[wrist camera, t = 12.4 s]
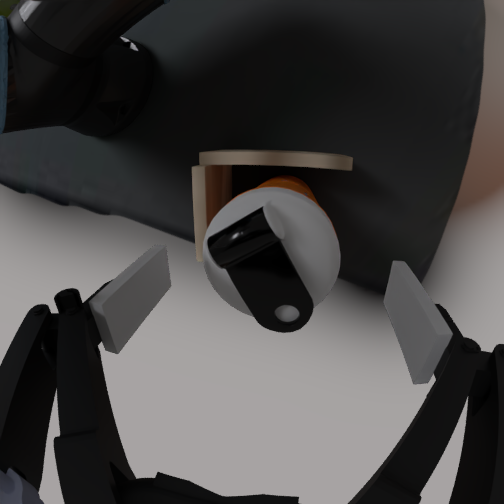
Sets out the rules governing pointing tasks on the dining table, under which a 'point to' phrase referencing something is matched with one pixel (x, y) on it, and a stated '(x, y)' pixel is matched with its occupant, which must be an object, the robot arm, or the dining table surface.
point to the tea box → (7, 7)
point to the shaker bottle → (273, 253)
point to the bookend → (220, 178)
